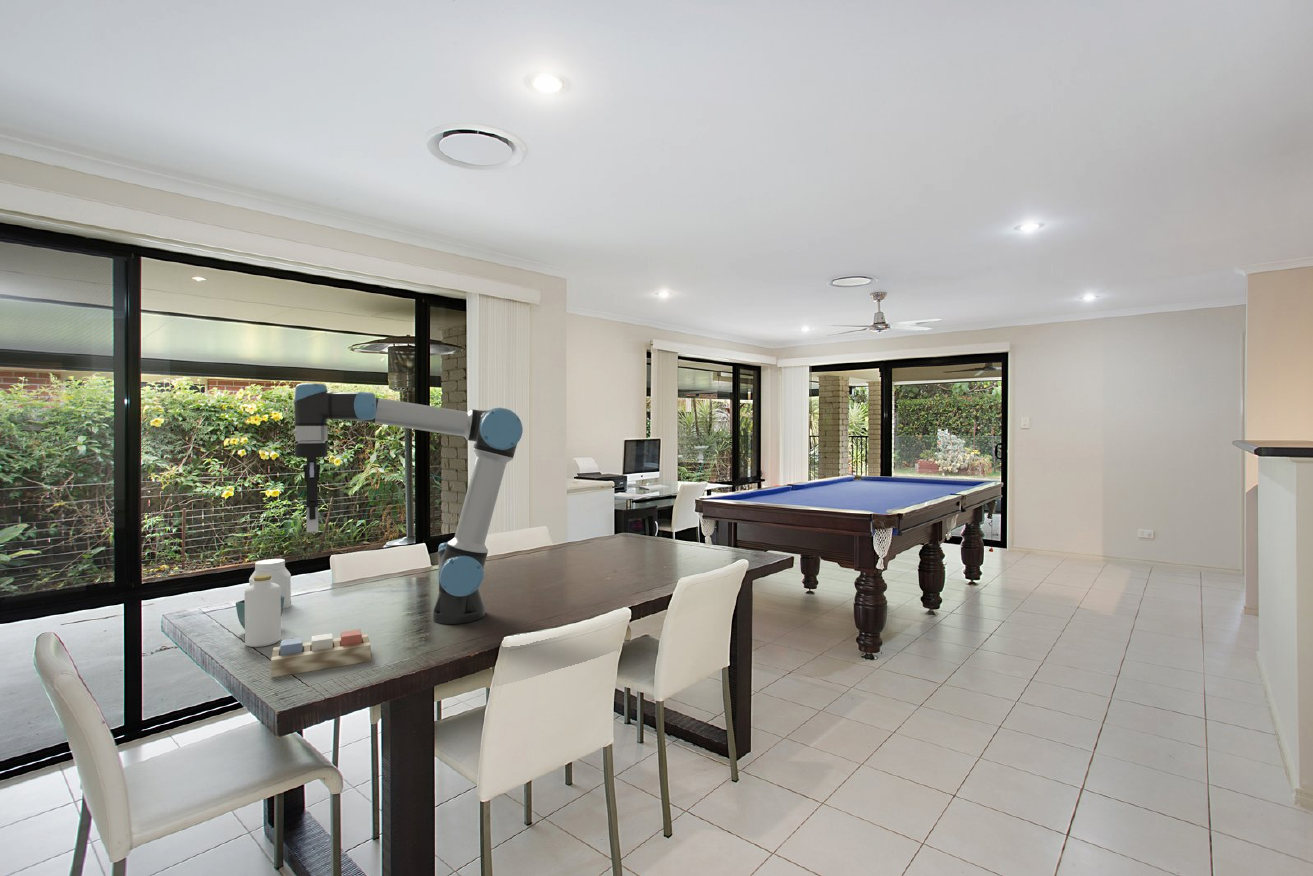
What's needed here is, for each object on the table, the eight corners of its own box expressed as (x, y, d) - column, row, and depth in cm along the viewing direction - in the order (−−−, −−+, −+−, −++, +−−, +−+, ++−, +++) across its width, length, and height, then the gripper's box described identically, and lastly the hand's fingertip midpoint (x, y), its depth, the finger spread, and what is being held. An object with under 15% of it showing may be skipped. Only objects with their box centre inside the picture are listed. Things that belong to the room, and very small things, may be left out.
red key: (360, 648, 162) (360, 629, 162) (361, 654, 158) (361, 634, 158) (341, 651, 160) (340, 632, 159) (341, 657, 156) (341, 637, 155)
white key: (332, 653, 159) (332, 633, 159) (332, 658, 155) (332, 638, 155) (311, 656, 156) (311, 636, 156) (311, 662, 152) (311, 641, 152)
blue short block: (302, 657, 155) (302, 637, 155) (302, 663, 151) (302, 642, 151) (281, 661, 153) (281, 640, 153) (280, 667, 149) (280, 646, 149)
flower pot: (261, 636, 176) (261, 604, 176) (234, 634, 178) (234, 602, 178) (285, 626, 185) (285, 595, 185) (260, 624, 187) (259, 594, 186)
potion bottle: (255, 638, 174) (254, 573, 174) (287, 637, 175) (286, 572, 174) (238, 649, 166) (237, 580, 165) (271, 647, 166) (270, 579, 166)
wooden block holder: (367, 649, 165) (367, 633, 165) (370, 661, 156) (370, 645, 156) (273, 663, 155) (273, 647, 155) (271, 677, 146) (271, 660, 146)
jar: (284, 601, 212) (284, 556, 212) (295, 606, 206) (295, 560, 206) (245, 608, 204) (244, 562, 203) (255, 614, 197) (254, 566, 197)
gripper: (295, 442, 171) (296, 529, 171) (294, 442, 160) (295, 536, 160) (326, 441, 175) (328, 527, 175) (327, 442, 163) (329, 533, 163)
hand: (312, 531), depth 167 cm, fingers closed
